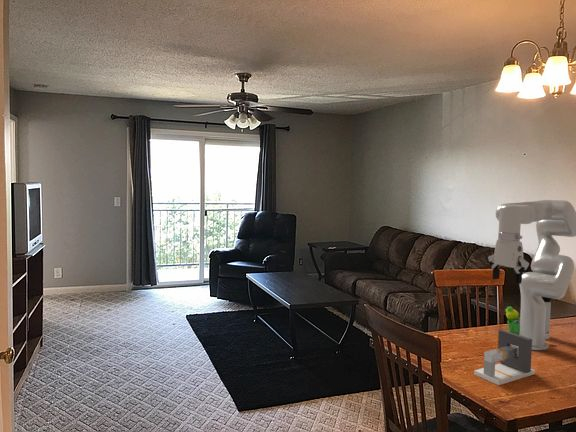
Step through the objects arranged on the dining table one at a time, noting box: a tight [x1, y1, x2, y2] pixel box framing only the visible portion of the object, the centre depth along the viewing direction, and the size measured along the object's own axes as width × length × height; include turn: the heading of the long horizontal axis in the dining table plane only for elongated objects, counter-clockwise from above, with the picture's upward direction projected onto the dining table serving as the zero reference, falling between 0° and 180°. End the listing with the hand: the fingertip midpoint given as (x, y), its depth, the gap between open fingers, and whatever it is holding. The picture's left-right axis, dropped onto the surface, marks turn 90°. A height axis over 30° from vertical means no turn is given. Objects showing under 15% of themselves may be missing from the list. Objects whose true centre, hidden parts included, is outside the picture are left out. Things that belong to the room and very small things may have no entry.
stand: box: [473, 356, 536, 386], centre depth 165 cm, size 20×10×6 cm, turn 119°
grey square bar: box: [483, 344, 519, 363], centre depth 165 cm, size 19×3×3 cm, turn 119°
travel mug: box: [542, 297, 552, 336], centre depth 206 cm, size 6×7×20 cm
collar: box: [497, 329, 533, 373], centre depth 167 cm, size 2×12×12 cm, turn 28°
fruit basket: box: [505, 306, 520, 335], centre depth 215 cm, size 11×9×11 cm
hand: (506, 281), depth 176 cm, fingers open, 9 cm apart
